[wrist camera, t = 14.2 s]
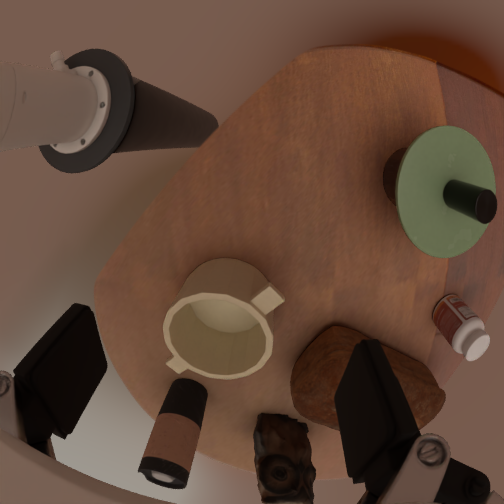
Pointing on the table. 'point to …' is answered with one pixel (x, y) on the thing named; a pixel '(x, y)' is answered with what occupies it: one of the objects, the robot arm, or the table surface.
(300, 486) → the owl
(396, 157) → the cup
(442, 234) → the lid
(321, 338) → the bread
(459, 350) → the pill bottle
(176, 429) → the travel mug
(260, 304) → the pot
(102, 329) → the table surface
